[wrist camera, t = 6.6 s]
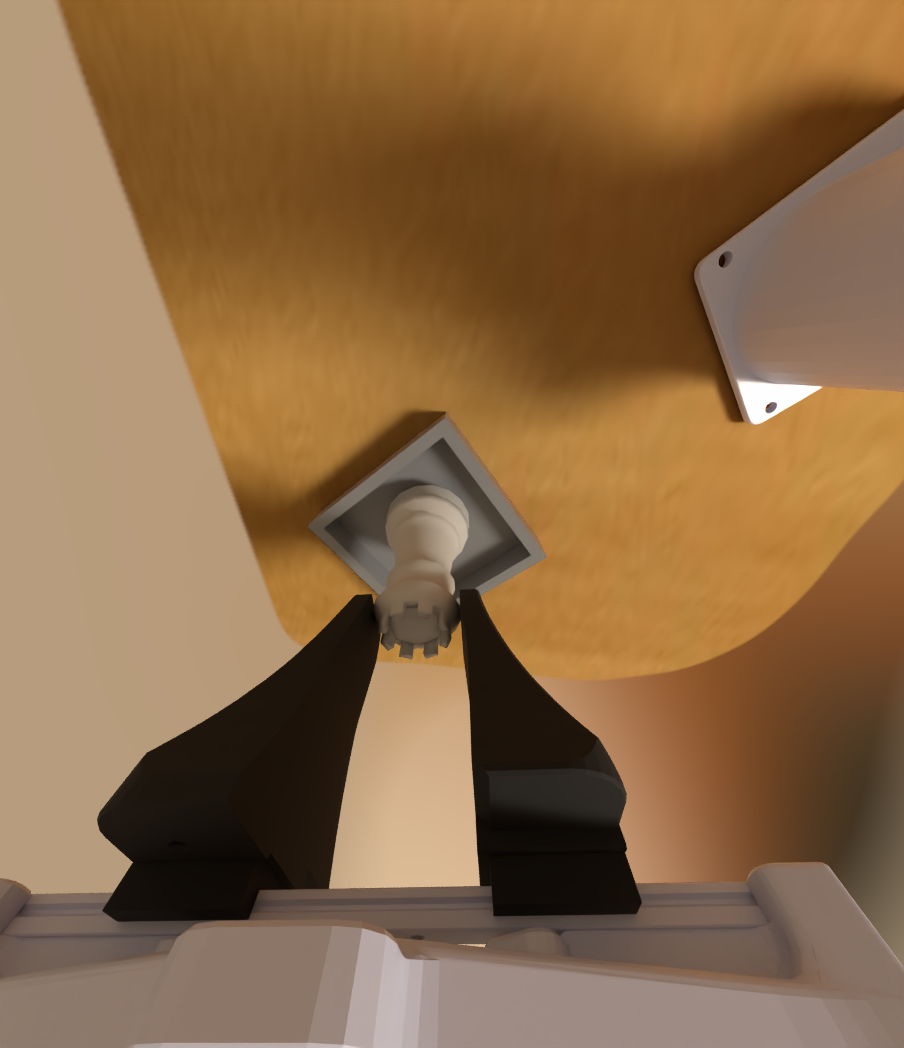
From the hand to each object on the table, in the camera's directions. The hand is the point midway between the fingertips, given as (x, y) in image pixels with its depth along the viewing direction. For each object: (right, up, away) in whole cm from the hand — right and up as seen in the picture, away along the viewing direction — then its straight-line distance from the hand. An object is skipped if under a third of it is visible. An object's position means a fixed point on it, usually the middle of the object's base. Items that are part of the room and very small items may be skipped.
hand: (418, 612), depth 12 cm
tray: (0, +3, +7) cm, 8 cm away
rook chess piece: (0, +4, +6) cm, 7 cm away
